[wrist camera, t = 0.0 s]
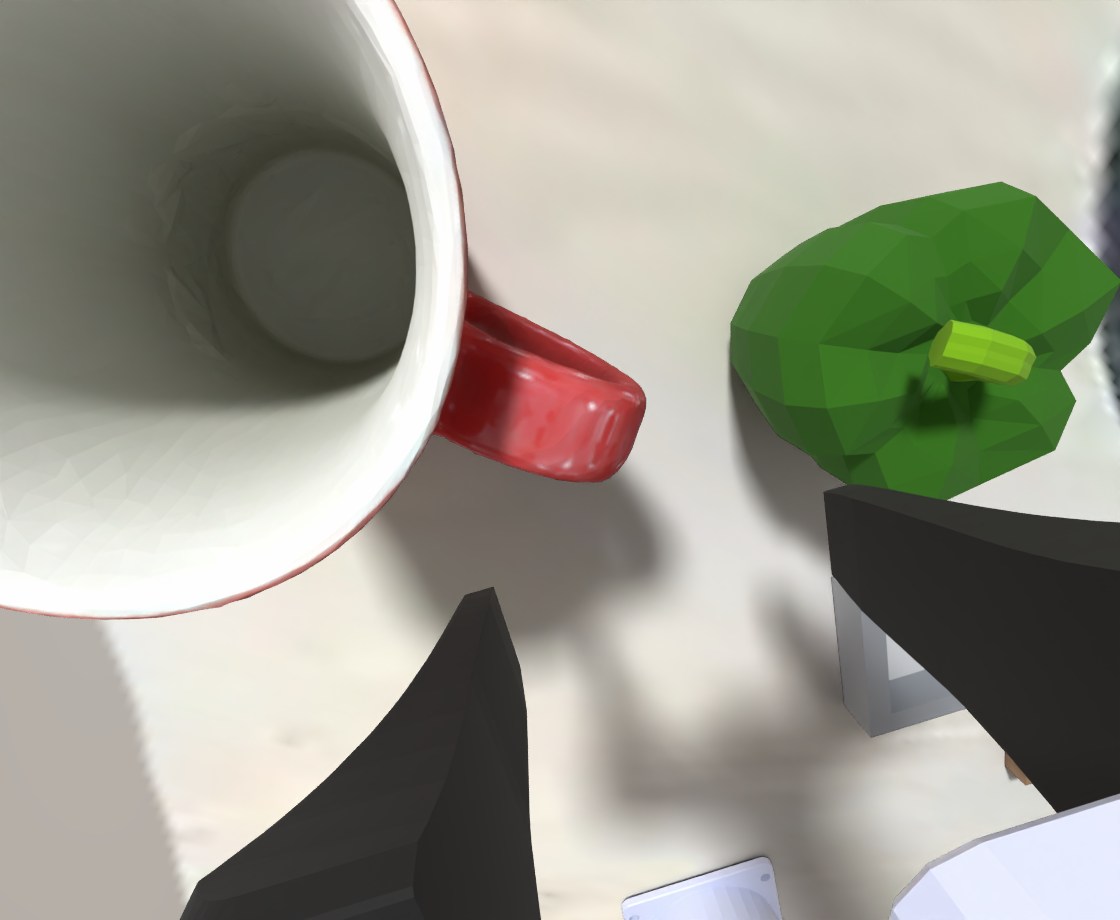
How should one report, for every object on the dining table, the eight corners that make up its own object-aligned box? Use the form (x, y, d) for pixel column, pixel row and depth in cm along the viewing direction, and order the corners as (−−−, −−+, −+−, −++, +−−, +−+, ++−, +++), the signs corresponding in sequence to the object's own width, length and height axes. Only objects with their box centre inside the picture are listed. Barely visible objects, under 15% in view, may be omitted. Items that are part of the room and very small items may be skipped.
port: (986, 662, 27) (1028, 695, 25) (844, 705, 27) (875, 743, 25) (986, 531, 25) (1034, 556, 23) (831, 577, 25) (864, 606, 23)
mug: (153, 329, 18) (-583, 457, 6) (242, 38, 16) (-592, -763, 4) (509, 479, 22) (545, 777, 9) (621, 250, 20) (878, 211, 7)
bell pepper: (956, 301, 22) (1321, 324, 12) (811, 473, 23) (1037, 613, 14) (803, 151, 19) (1108, 36, 10) (653, 354, 21) (794, 423, 11)
